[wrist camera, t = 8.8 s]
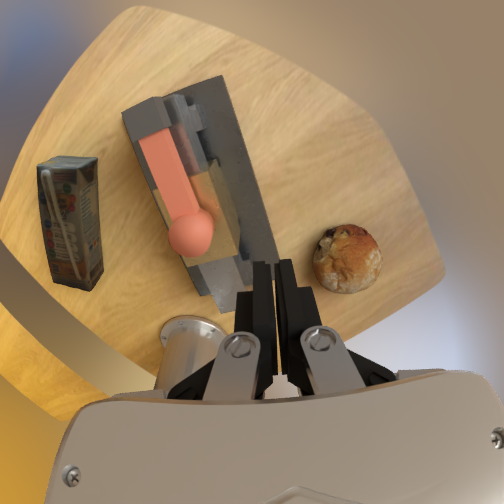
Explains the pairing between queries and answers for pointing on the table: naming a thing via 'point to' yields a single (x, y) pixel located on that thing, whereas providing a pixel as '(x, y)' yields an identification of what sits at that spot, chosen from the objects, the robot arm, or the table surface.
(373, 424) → the robot arm
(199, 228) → the lever
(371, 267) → the bread roll
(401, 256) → the table surface
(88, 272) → the beverage carton
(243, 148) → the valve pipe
